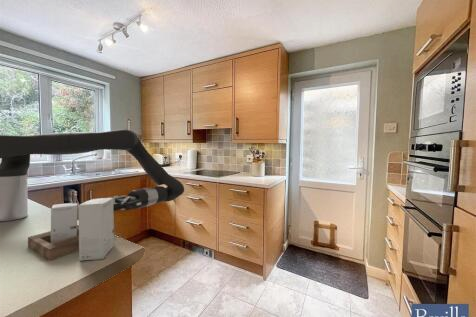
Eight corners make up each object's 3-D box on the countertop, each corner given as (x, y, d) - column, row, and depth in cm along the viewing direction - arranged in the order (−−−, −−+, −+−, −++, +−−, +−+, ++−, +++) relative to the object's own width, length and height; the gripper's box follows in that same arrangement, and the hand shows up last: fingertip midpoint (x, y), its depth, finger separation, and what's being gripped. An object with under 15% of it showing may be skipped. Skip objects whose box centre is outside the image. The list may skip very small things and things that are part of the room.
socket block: (28, 247, 60) (27, 237, 60) (76, 233, 70) (76, 224, 70) (49, 260, 53) (49, 249, 53) (99, 242, 64) (99, 233, 64)
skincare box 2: (103, 259, 54) (103, 203, 54) (77, 261, 53) (76, 204, 52) (114, 245, 62) (114, 196, 62) (92, 246, 61) (92, 197, 61)
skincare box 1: (50, 250, 58) (49, 208, 58) (52, 244, 62) (51, 204, 61) (77, 245, 62) (77, 205, 61) (78, 239, 66) (77, 201, 65)
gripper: (132, 186, 88) (90, 193, 74) (155, 190, 81) (113, 198, 67) (132, 204, 88) (90, 214, 74) (155, 209, 81) (113, 221, 67)
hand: (101, 206), depth 70 cm, fingers open, 8 cm apart
